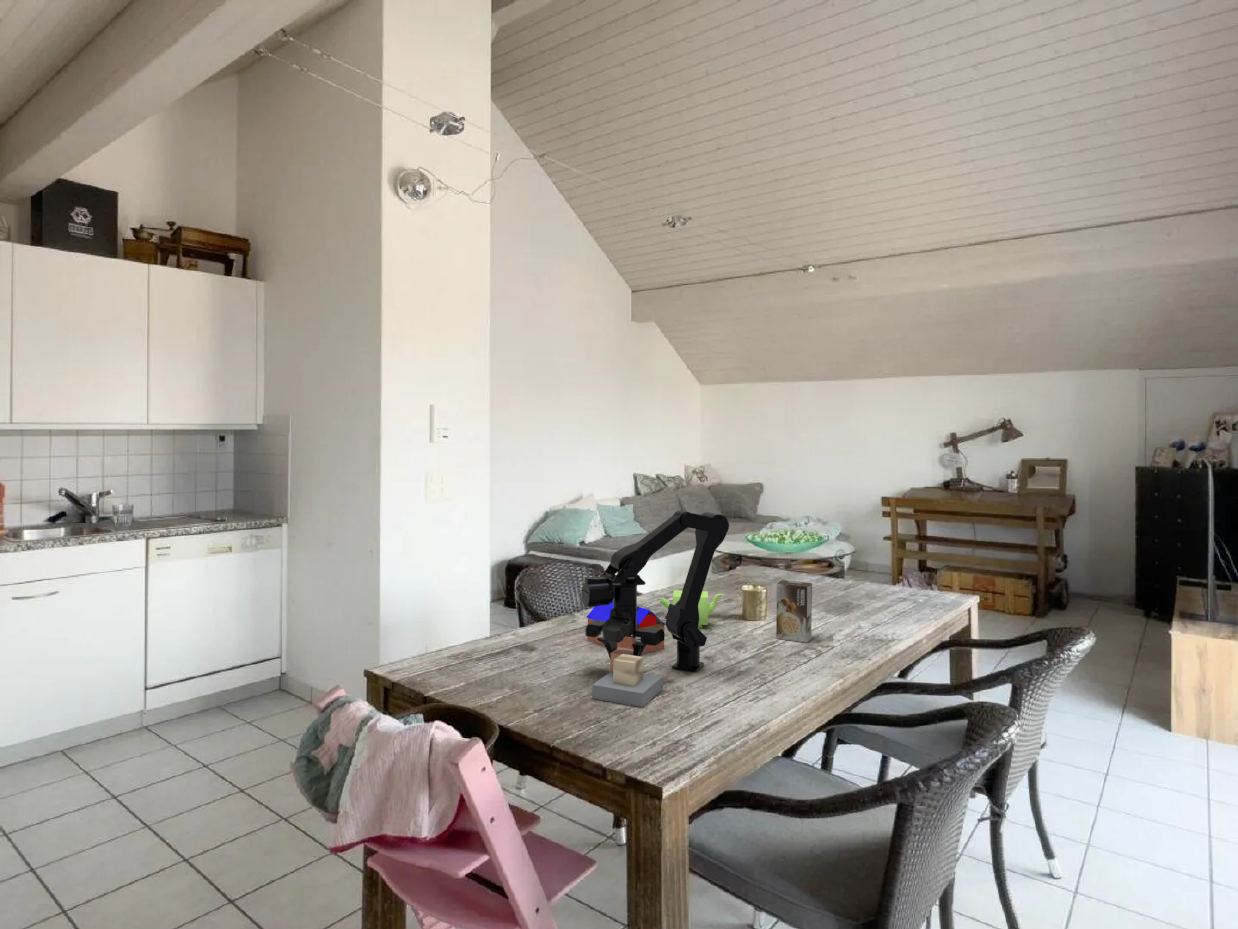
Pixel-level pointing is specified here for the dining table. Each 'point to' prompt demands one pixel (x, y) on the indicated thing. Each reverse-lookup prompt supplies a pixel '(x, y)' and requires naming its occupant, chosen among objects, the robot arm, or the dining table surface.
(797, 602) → the coffee box
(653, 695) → the slate board
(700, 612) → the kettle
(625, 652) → the terracotta cube
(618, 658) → the birch cube
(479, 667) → the dining table surface
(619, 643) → the house
